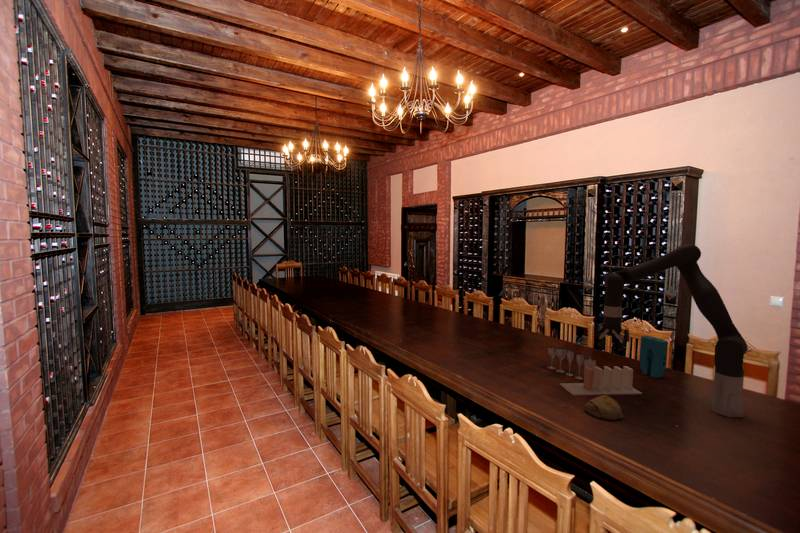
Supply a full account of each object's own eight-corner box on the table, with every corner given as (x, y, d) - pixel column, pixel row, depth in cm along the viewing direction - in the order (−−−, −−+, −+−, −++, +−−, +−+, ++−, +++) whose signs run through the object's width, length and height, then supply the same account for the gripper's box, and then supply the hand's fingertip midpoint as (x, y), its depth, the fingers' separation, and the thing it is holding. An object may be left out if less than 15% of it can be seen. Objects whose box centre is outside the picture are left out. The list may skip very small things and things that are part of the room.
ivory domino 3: (622, 389, 182) (623, 369, 181) (618, 389, 182) (620, 369, 181) (615, 385, 187) (616, 366, 186) (612, 385, 187) (613, 366, 186)
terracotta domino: (592, 390, 181) (593, 370, 180) (589, 390, 181) (590, 370, 180) (586, 386, 186) (587, 366, 185) (583, 386, 186) (584, 366, 185)
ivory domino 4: (631, 389, 182) (633, 369, 181) (628, 389, 182) (630, 369, 181) (625, 385, 187) (626, 366, 186) (622, 385, 187) (623, 366, 186)
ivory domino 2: (612, 390, 182) (613, 370, 181) (609, 390, 181) (610, 370, 181) (605, 385, 187) (607, 366, 186) (602, 385, 186) (603, 366, 186)
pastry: (625, 414, 158) (627, 396, 158) (618, 425, 149) (619, 406, 149) (590, 404, 168) (591, 386, 167) (580, 413, 159) (581, 395, 158)
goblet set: (544, 367, 213) (545, 344, 212) (551, 365, 216) (552, 343, 215) (590, 385, 189) (592, 359, 188) (597, 382, 192) (598, 357, 191)
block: (666, 378, 199) (668, 341, 197) (659, 379, 197) (662, 342, 195) (644, 370, 210) (646, 335, 208) (638, 371, 208) (640, 336, 206)
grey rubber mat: (642, 394, 178) (642, 393, 178) (573, 395, 176) (573, 394, 176) (624, 383, 191) (624, 382, 191) (559, 384, 189) (559, 383, 189)
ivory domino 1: (602, 390, 181) (603, 370, 180) (599, 390, 181) (600, 370, 180) (596, 386, 186) (597, 366, 185) (593, 386, 186) (594, 366, 185)
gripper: (632, 316, 176) (630, 350, 177) (600, 312, 187) (599, 344, 188) (626, 318, 171) (625, 353, 172) (593, 314, 182) (592, 346, 183)
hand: (611, 348), depth 180 cm, fingers open, 8 cm apart
